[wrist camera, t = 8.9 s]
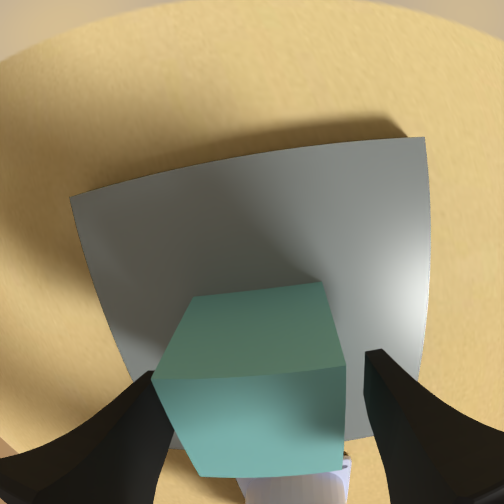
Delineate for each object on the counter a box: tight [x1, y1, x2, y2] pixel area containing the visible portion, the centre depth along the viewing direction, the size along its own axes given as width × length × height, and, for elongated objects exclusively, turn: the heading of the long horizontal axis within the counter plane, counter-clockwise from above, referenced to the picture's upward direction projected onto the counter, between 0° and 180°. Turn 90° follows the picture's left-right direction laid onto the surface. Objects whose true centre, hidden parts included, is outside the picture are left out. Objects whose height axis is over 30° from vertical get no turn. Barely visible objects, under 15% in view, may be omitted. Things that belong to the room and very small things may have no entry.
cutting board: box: [69, 137, 431, 450], centre depth 14 cm, size 15×14×2 cm
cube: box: [151, 282, 346, 478], centre depth 10 cm, size 5×5×5 cm
